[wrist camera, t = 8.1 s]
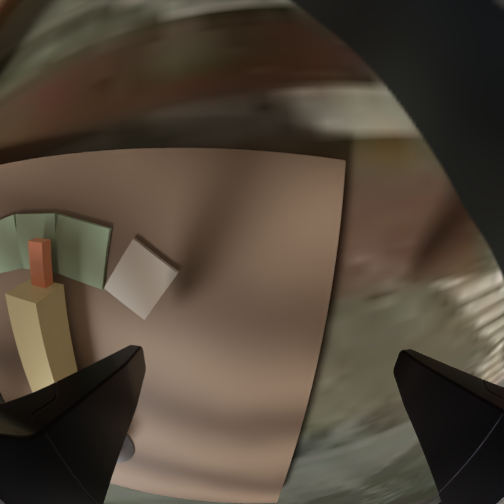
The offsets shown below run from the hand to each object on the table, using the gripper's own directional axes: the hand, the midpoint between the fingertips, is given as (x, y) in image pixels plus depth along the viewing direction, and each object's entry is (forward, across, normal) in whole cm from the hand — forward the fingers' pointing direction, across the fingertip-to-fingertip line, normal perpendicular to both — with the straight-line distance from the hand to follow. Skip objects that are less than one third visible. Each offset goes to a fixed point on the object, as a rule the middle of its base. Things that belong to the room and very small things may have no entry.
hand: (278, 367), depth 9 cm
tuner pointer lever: (+2, +10, +3) cm, 10 cm away
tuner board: (+3, +8, +4) cm, 10 cm away
